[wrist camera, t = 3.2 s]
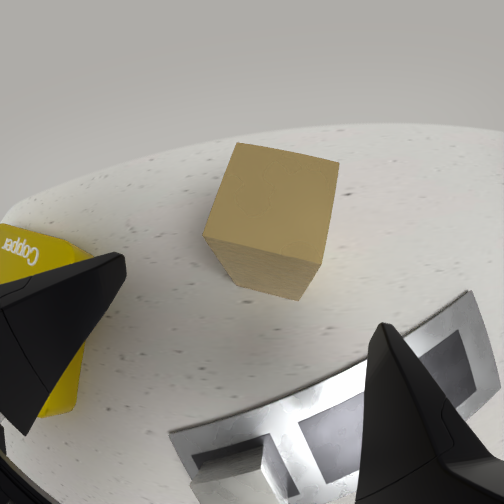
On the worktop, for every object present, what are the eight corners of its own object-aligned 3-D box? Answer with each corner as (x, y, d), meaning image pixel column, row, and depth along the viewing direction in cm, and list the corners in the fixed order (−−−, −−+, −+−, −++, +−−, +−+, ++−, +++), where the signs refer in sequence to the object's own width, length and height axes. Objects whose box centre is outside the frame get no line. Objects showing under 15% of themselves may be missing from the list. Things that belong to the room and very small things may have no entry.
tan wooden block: (298, 301, 19) (321, 264, 10) (236, 285, 20) (202, 235, 11) (312, 241, 21) (339, 162, 11) (253, 227, 21) (236, 142, 12)
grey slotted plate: (224, 527, 14) (223, 531, 13) (170, 433, 17) (167, 435, 16) (497, 387, 15) (501, 387, 15) (468, 291, 18) (472, 289, 18)
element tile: (109, 259, 22) (76, 240, 17) (77, 419, 18) (42, 429, 13) (18, 233, 24) (-9, 218, 19) (-8, 356, 20) (-38, 352, 15)
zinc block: (229, 505, 14) (220, 533, 11) (204, 461, 16) (189, 485, 12) (287, 490, 15) (288, 519, 11) (263, 445, 16) (260, 469, 12)
